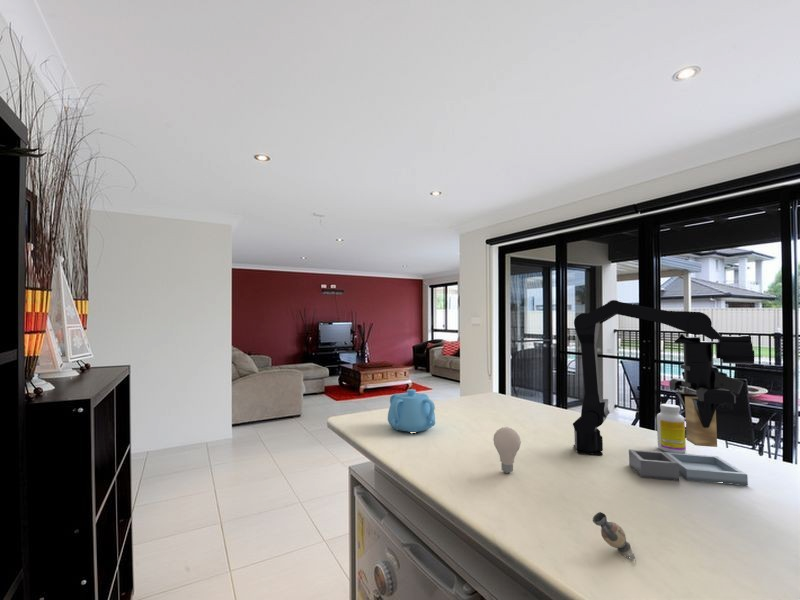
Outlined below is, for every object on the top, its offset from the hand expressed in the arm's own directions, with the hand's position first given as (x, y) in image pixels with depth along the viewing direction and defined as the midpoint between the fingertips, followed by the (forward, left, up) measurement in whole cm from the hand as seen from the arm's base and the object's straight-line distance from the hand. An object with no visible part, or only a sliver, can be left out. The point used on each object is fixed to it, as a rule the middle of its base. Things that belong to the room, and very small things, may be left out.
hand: (700, 424), depth 94 cm
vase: (-31, -41, -12) cm, 53 cm away
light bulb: (-47, -12, -12) cm, 50 cm away
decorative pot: (-78, +19, -12) cm, 81 cm away
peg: (0, 0, -4) cm, 4 cm away
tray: (0, 0, -12) cm, 12 cm away
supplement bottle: (0, +17, -12) cm, 21 cm away
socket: (-12, -3, -12) cm, 17 cm away
